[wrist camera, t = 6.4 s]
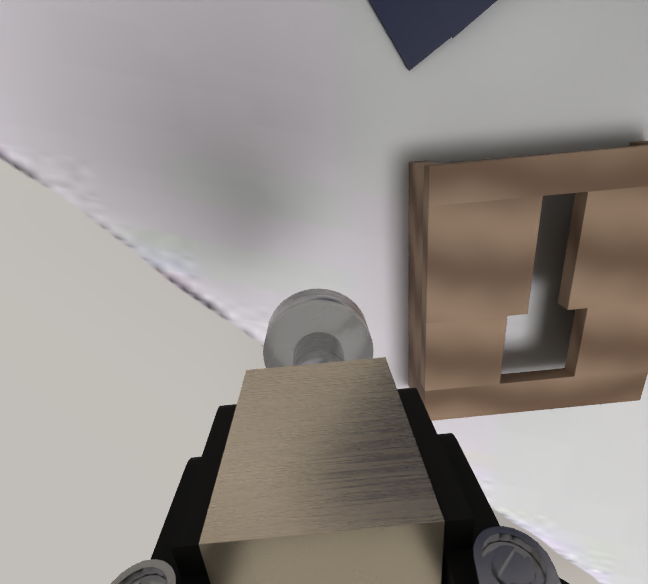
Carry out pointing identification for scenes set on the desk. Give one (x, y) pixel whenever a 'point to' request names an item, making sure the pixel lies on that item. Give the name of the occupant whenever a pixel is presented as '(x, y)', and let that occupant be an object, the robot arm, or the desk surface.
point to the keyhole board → (526, 279)
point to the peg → (321, 463)
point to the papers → (425, 23)
